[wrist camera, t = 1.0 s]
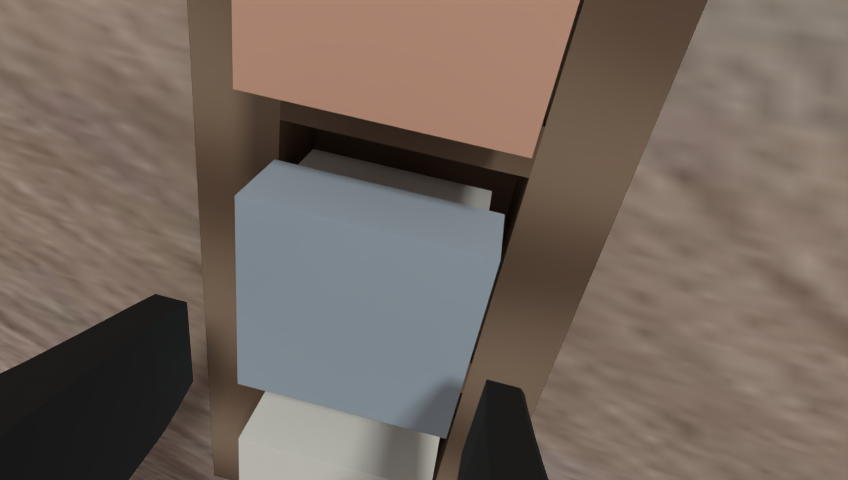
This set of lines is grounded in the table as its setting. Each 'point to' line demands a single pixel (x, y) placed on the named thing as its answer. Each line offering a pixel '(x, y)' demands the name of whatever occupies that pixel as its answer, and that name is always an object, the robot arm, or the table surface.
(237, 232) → the slate key
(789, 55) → the table surface
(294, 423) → the ivory key
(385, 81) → the terracotta key
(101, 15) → the table surface
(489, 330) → the brown long flat frame
